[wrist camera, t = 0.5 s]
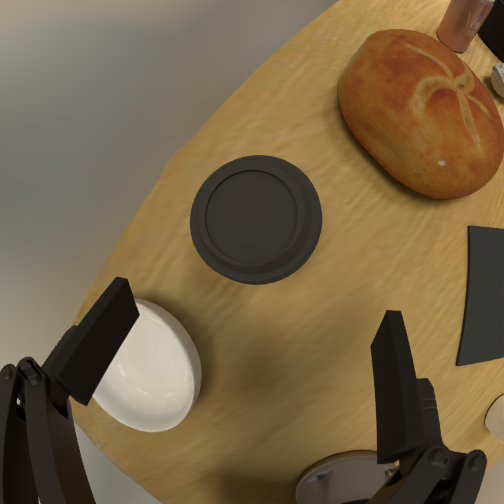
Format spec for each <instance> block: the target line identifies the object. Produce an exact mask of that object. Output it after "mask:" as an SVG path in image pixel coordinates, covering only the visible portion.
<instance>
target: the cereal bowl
mask: <svg viewBox="0 0 504 504" xmlns="http://www.w3.org/2000/svg"><path fill="white" fill-rule="evenodd" d="M134 300H135V303H136V305H137V308H138V311H139V314H140V316H139V317H138V319H137V321H136V322H135V324H134V325H133V327H132V329H131V330H130V332H129V334H128V335H127V337H126V338H125V340H124V342H123V343H122V345H121V347H120V348H119V350H118V352H117V353H116V355H115V357H114V359H113V360H112V362H111V364H110V365H109V367H108V369H107V371H106V372H105V374H104V376H103V378H102V379H101V381H100V383H99V385H98V386H97V388H96V390H95V392H94V394H93V395H92V396H93V398H94V399H95V400H96V402H97V403H98V404H99V405H100V406H101V407H102V408H103V409H104V410H105V411H106V412H107V413H108V414H109V415H111V416H112V417H113V418H114V419H116V420H117V421H119V422H120V423H122V424H124V425H126V426H128V427H131V428H133V429H136V430H140V431H145V432H162V431H166V430H169V429H171V428H173V427H175V426H177V425H178V424H179V423H181V422H182V421H183V420H184V419H185V418H186V417H187V415H188V414H189V413H190V411H191V410H192V408H193V406H194V405H195V402H196V400H197V398H198V395H199V391H200V387H201V379H202V370H201V363H200V358H199V354H198V352H197V349H196V346H195V345H194V342H193V341H192V338H191V337H190V335H189V334H188V332H187V331H186V329H185V328H184V327H183V326H182V324H181V323H180V322H179V321H178V320H177V319H176V318H175V317H174V316H173V315H172V314H170V313H169V312H168V311H166V310H165V309H163V308H162V307H160V306H158V305H156V304H154V303H151V302H149V301H145V300H142V299H138V298H134Z"/></svg>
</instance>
